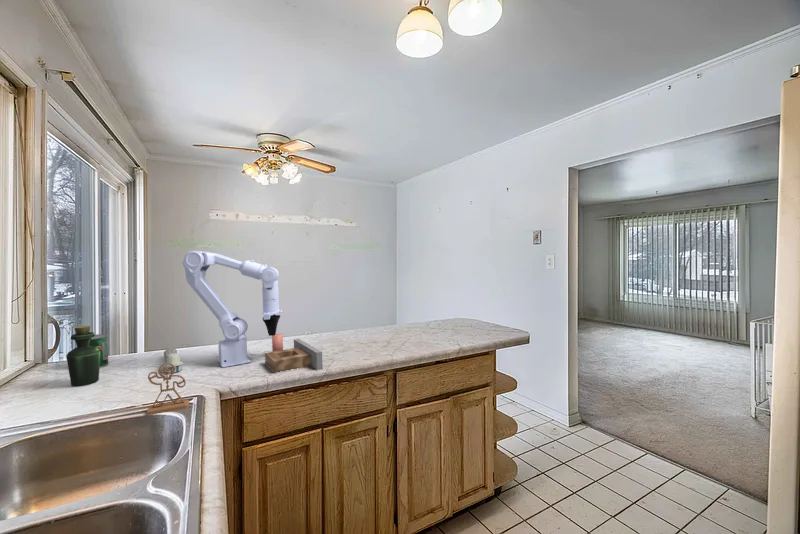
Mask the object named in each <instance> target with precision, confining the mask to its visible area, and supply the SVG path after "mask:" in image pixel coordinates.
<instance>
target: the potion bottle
mask: <svg viewBox="0 0 800 534" xmlns="http://www.w3.org/2000/svg"><path fill="white" fill-rule="evenodd" d="M73 329H74V332H75V334H72V335H71V336H70V341H71V340H73V341H74V342H75V345H76V347H75V348H73V349H72V350H71V349H70V350H69V351H68V352H67V354H66V363H67V369H68V373H69V381H70V385H71V386H72V387H75V388H77V387H78V388H79V387H85V386H86V387H87V386H89V385H92V384H95V383H97V382H98V381H99V380H100V352H101V351H100V350H99V348H97V347H94V346H90V345H89V344H90V341H91V338H92V337H94V336H95V335H96V334H95V333H94V332H92V331H90V330H91V325H79V326H75V327H74V328H73Z"/></svg>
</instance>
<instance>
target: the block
mask: <svg viewBox="0 0 800 534" xmlns="http://www.w3.org/2000/svg"><path fill="white" fill-rule="evenodd" d="M264 363H265V364H264V365H266V364H267V365H268V366H269V367H270V368H271V369H272V370H273V371H274V372H279V373H281V372H280V371H284V372H286V371H285V370H289V371H292V370H291V369H294V370H297V368H298V369H302V367H303V368H307V367H312V366H311V355H310V354H308V353H307V352H305V351H304V350H302V349H300V348H299V347H298V348H294V347H292V348H287V349H283V350H281V351H275V352H272V351H269V352H264ZM267 365H266V366H267ZM268 366H267V367H268ZM269 367H268V368H269ZM270 368H269V369H270ZM271 369H270V370H271ZM272 370H271V371H272ZM273 371H272V372H273ZM274 372H273V373H274Z"/></svg>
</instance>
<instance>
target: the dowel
mask: <svg viewBox="0 0 800 534" xmlns="http://www.w3.org/2000/svg"><path fill="white" fill-rule="evenodd" d="M283 338H284V335H283V333H276V334H275V335H274V336H271V348H272V350H271V352H275V351H281V350H284V339H283Z"/></svg>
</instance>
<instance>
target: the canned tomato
mask: <svg viewBox="0 0 800 534" xmlns="http://www.w3.org/2000/svg"><path fill="white" fill-rule="evenodd" d="M89 345H90V346H94V347H97V348H99V350H100V351H101V352H100V368H104V367H106V366H108V365H109V364H110V362H109V349H108V348H109V346H108V334H105V333H99V334H95V336H94V337H92V338H91V341H90V344H89ZM100 368H99V369H100Z"/></svg>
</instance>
